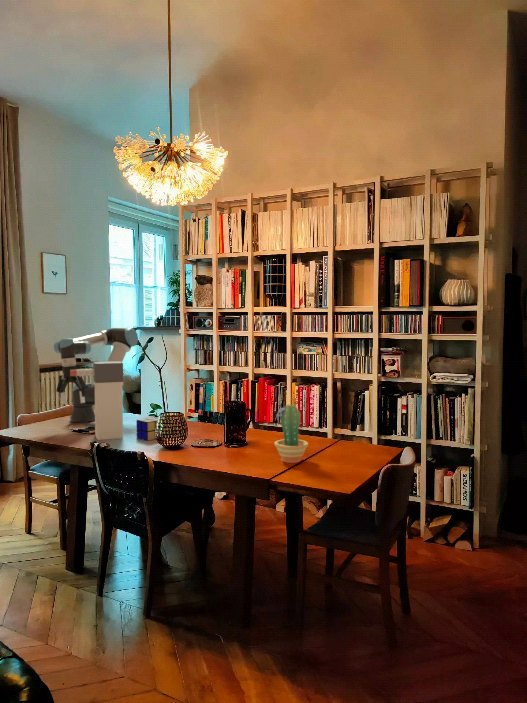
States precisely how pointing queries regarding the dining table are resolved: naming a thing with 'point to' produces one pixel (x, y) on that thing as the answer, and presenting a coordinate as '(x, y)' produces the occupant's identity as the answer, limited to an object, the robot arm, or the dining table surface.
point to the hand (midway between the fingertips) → (73, 403)
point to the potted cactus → (290, 435)
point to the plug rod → (82, 372)
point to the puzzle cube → (146, 428)
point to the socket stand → (108, 400)
